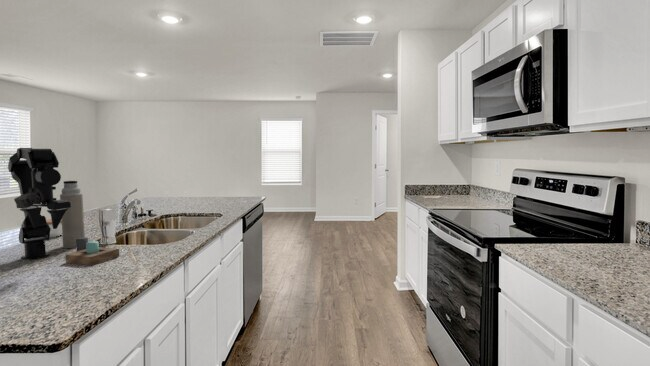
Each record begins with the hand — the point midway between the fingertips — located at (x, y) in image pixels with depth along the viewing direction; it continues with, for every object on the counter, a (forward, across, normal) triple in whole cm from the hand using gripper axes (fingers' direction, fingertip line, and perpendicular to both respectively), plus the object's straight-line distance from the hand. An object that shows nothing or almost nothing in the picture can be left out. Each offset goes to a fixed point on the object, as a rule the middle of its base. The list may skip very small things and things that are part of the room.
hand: (45, 228), depth 135 cm
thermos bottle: (+13, -16, +24) cm, 32 cm away
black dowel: (+13, -1, +15) cm, 20 cm away
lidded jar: (+13, -44, +37) cm, 59 cm away
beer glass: (+13, -6, +32) cm, 35 cm away
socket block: (+13, +11, +9) cm, 19 cm away
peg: (+13, +11, +9) cm, 19 cm away
